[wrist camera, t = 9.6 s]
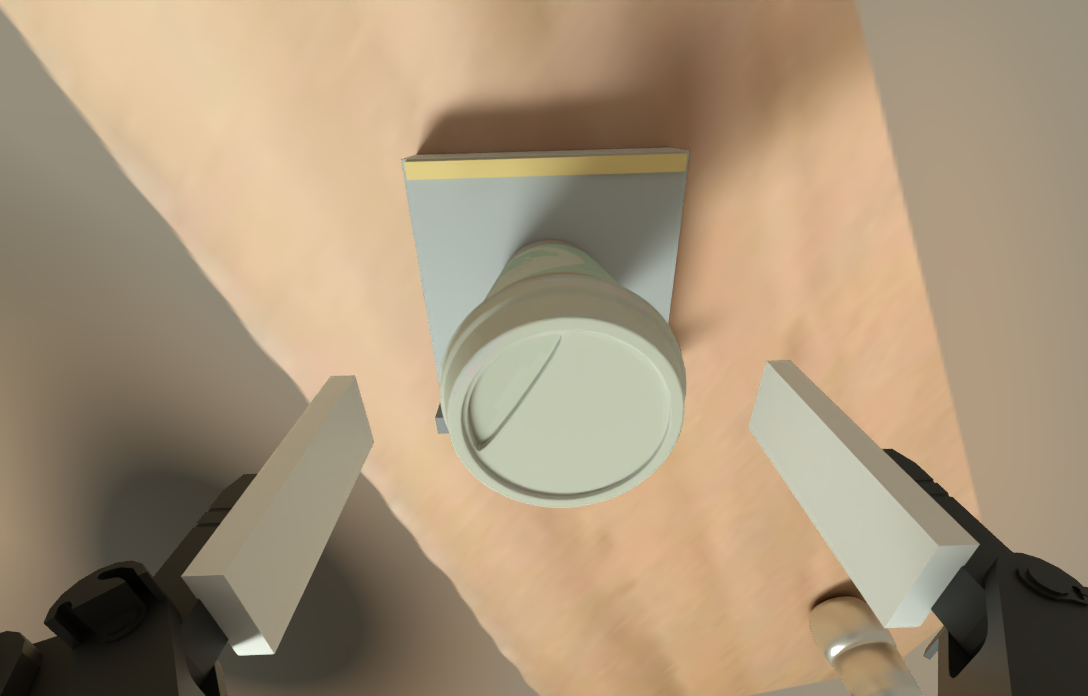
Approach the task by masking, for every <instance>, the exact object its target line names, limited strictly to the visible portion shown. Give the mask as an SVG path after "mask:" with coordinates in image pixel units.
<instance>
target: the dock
mask: <svg viewBox="0 0 1088 696" xmlns="http://www.w3.org/2000/svg"><path fill="white" fill-rule="evenodd" d="M689 154H690V151H688V150H683V149H678V148H673V147H661V148H627V149H593V150H560V151H526V152H492V153H459V154H425V155H413V156H410V157H407V158H404V159H401V163H402V169H403V174H404V180H405V186H406V192H407V198H408V204H409V210H410V216H411V222H412V228H413V234H414V239H415V245H416V251H417V257H418V263H419V269H420V275H421V281H422V287H423V293H424V299H425V304H426V310H427V316H428V322H429V328H430V334H431V340H432V346H433V352H434V358H435V364H436V369H437V375H438V381H439V387H440V371H441V365H442V360H443V356H444V353H445V350H446V348H447V345H448V343H449V341H450V339H451V337H452V335H453V334H454V332H455V331H456V329H457V328H458V326H459V325H460V324H461V322H462V321H463V320H464V319H465V318H466V316H467V315H468V314H469V313H470V312H471V311H472V310H473V309H475V308H476V307H477V306H478V305H479V304H481V303H482V302H483V301H484V299H485V298H486V296H487V294H488V293H489V291H490V289H491V288H492V286H493V284H494V283H495V281H496V280H497V278H498V276H499V275H500V273H501V271H502V270H503V268H504V267H505V265H506V264H507V262H508V261H509V259H510V258H511V257H512V256H513V255H514V254H515V253H516V252H517V251H519V250H520V249H521V248H523V247H525V246H527V245H529V244H531V243H534V242H537V241H541V240H562V241H566V242H569V243H572V244H574V245H576V246H578V247H580V248H581V249H583V250H584V251H585V252H586V253H587V254H588V255H589V256H591V257H592V258H593V259H594V260H595V261H596V262H597V263H598V264H599V265H600V266H601V267H602V268H603V269H604V270H605V271H606V272H607V273H608V274H609V275H610V276H611V277H612V278H613V279H614V280H615V281H616V282H617V283H618V284H619V285H620V286H623V287H625V288H627V289H629V290H631V291H633V292H634V293H636V294H637V295H639V296H641V297H642V298H643V299H645V300H646V301H647V302H649V303H650V304H651V305H652V306H653V307H654V308H655V309H656V310H657V311H658V312H659V313H660V314H661V315H662V316H663V318H664V319H665V320H666V322H667V323H668V322H669V314H670V306H671V298H672V290H673V282H674V274H675V266H676V258H677V250H678V242H679V234H680V226H681V218H682V210H683V202H684V194H685V186H686V178H687V170H688V162H689ZM435 419H436V425H437V430H438V434H443V433H449V430H448V428H447V426H446V423H445V420H444V417H443V414H442V409H441V403H440V405H439V408H438V411H437V414H436V417H435Z"/></svg>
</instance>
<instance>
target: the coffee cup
mask: <svg viewBox="0 0 1088 696" xmlns="http://www.w3.org/2000/svg"><path fill="white" fill-rule="evenodd" d="M685 396H686V372H685V367H684V362H683V359H682V354H681V350H680V347H679V344H678V342H677V339H676V337H675V335H674V333H673V331H672V329H671V328H670V326H669V324H668V323H667V322H666V320H665V319H664V318H663V316H662V315H661V314H660V313H659V312H658V311H657V310H656V309H655V308H654V307H653V306H652V305H651V304H650V303H649V302H647V301H646V300H645V299H643V298H642V297H641V296H639V295H637V294H636V293H634V292H633V291H631V290H629V289H627V288H625V287H623V286H620V285H619V284H618V283H617V282H616V281H615V280H614V279H613V278H612V277H611V276H610V275H609V274H608V273H607V272H606V271H605V270H604V269H603V268H602V267H601V266H600V265H599V264H598V263H597V262H596V261H595V260H594V259H593V258H592V257H591V256H589V255H588V254H587V253H586V252H585V251H584V250H583V249H581V248H580V247H578V246H576V245H574V244H572V243H569V242H566V241H562V240H541V241H537V242H534V243H531V244H529V245H527V246H525V247H523V248H521V249H520V250H519V251H517V252H516V253H515V254H514V255H513V256H512V257H511V258H510V259H509V261H508V262H507V264H506V265H505V267H504V268H503V270H502V271H501V273H500V275H499V276H498V278H497V280H496V281H495V283H494V284H493V286H492V288H491V289H490V291H489V293H488V294H487V296H486V298H485V299H484V301H483V302H482V303H481V304H479V305H478V306H477V307H476V308H475V309H473V310H472V311H471V312H470V313H469V314H468V315H467V316H466V318H465V319H464V320H463V321H462V322H461V324H460V325H459V326H458V328H457V329H456V331H455V332H454V334H453V335H452V337H451V339H450V341H449V343H448V345H447V348H446V350H445V353H444V356H443V360H442V365H441V371H440V403H441V409H442V414H443V417H444V420H445V423H446V426H447V428H448V430H449V434H450V438H451V442H452V444H453V446H454V449H455V451H456V453H457V455H458V456H459V458H460V460H461V461H462V463H463V464H464V465H465V467H466V468H467V469H468V470H469V471H470V472H471V473H472V474H473V475H474V476H475V477H476V478H477V479H478V480H479V481H481V482H482V483H483V484H484V485H486V486H487V487H489V488H491V489H492V490H494V491H496V492H497V493H499V494H501V495H503V496H506V497H508V498H511V499H513V500H516V501H519V502H523V503H526V504H531V505H536V506H543V507H556V508H567V507H578V506H585V505H590V504H595V503H599V502H602V501H605V500H608V499H611V498H614V497H616V496H618V495H621V494H623V493H625V492H627V491H629V490H631V489H632V488H634V487H636V486H637V485H639V484H640V483H642V482H643V481H644V480H646V479H647V478H648V477H649V476H651V475H652V474H653V473H654V472H655V471H656V470H657V469H658V468H659V467H660V466H661V465H662V463H663V462H664V461H665V460H666V458H667V457H668V456H669V454H670V453H671V451H672V450H673V448H674V446H675V444H676V442H677V440H678V437H679V434H680V432H681V428H682V424H683V419H684V401H685Z"/></svg>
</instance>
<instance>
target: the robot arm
mask: <svg viewBox="0 0 1088 696" xmlns="http://www.w3.org/2000/svg"><path fill="white" fill-rule="evenodd" d="M749 430H750V431H751V433H752V434H753V436H754V437H755V439H756V440H757V441H758V443H759V444H760V446H761V447H762V449H763V450H764V452H765V453H766V455H767V456H768V458H769V459H770V461H771V462H772V464H773V465H774V466H775V468H776V469H777V471H778V472H779V474H780V475H781V477H782V478H783V480H784V481H785V483H786V484H787V486H788V487H789V489H790V490H791V491H792V493H793V494H794V496H795V497H796V499H797V500H798V502H799V503H800V505H801V506H802V508H803V509H804V511H805V512H806V514H807V515H808V516H809V518H810V519H811V521H812V522H813V524H814V525H815V527H816V528H817V530H818V531H819V533H820V534H821V536H822V537H823V539H824V540H825V541H826V543H827V544H828V546H829V547H830V549H831V550H832V552H833V553H834V555H835V556H836V558H837V559H838V561H839V562H840V564H841V565H842V566H843V568H844V569H845V571H846V572H847V574H848V575H849V577H850V578H851V580H852V581H853V583H854V584H855V586H856V587H857V589H858V590H859V591H860V593H861V594H862V596H863V597H864V599H865V600H866V602H867V603H868V605H869V606H870V608H871V609H872V611H873V612H874V614H875V615H876V616H877V618H878V619H879V621H880V622H881V624H882V625H883V627H884V628H899V627H920V625H921V624H922V622H923V621H924V620H925V618H926V617H927V616H928V614H929V613H930V612H931V610H932V611H933V612H934V613H935V615H936V616H937V617H938V618H939V620H940V621H941V622H942V624H943V625H944V626H943V628H942V629H941V630H940V631H939V633H938V634H937V635H936V637H935V638H934V639H933V640H932V642H931V643H930V644H929V645H928V647H927V648H926V650H925V653H924V657H926V658H928V659H931V658H932V657H933V655H934V654H935V653H936V652H937V651H938V696H1088V587H1083V586H1082V585H1081V584H1080V583H1079V582H1078V581H1077V580H1076V579H1074V578H1073V577H1071V576H1070V575H1069V574H1067V573H1065V572H1064V571H1063V570H1061V569H1060V568H1058V567H1056V566H1054V565H1052V564H1050V563H1048V562H1046V561H1044V560H1042V559H1040V558H1036V557H1033V556H1030V555H1027V554H1023V553H1013V552H1012V551H1010V550H1009V549H1008V548H1007V547H1006V546H1005V545H1004V544H1003V543H1002V542H1001V541H1000V540H999V539H997V538H996V537H995V536H994V535H993V534H992V533H991V532H990V531H989V530H988V529H987V528H985V527H984V526H983V525H982V524H981V523H980V522H979V521H978V520H977V519H976V518H975V517H974V516H972V515H971V514H970V513H969V512H968V511H967V510H966V509H965V508H964V507H963V506H962V505H961V504H959V503H958V502H957V501H956V500H955V499H954V498H953V497H949V495H948V492H946V491H945V490H944V489H943V488H942V487H941V486H940V485H939V484H938V483H934V481H933V479H932V478H931V477H930V476H929V475H928V474H927V473H926V472H925V471H924V470H923V469H922V468H920V467H919V466H918V465H917V464H916V463H915V462H913V461H911V460H910V459H908V458H906V457H905V456H903V455H901V454H900V453H898V452H896V451H895V450H893V449H881V448H880V447H879V446H878V445H877V444H876V443H875V442H874V441H873V440H872V439H871V438H870V437H869V436H868V435H867V434H866V433H865V432H864V431H863V430H862V429H861V428H860V427H859V426H857V425H856V424H855V423H854V422H853V421H852V420H851V419H850V418H849V417H848V416H847V415H846V414H845V413H844V412H843V411H842V410H841V409H840V408H839V407H838V406H837V405H836V404H835V403H834V402H833V401H832V400H831V399H830V398H829V397H828V396H827V395H826V394H825V393H824V392H822V391H821V390H820V389H819V388H818V387H817V386H816V385H815V384H814V383H813V382H812V381H811V380H810V379H809V378H808V377H807V376H806V375H805V374H804V373H803V372H802V371H801V370H800V369H799V368H798V367H797V366H796V365H795V364H794V363H793V362H792V361H791V360H779V361H766V364H765V368H764V372H763V376H762V379H761V383H760V387H759V390H758V394H757V398H756V402H755V405H754V409H753V413H752V416H751V420H750V424H749ZM373 443H374V440H373V436H372V433H371V429H370V426H369V422H368V419H367V415H366V412H365V409H364V405H363V402H362V398H361V395H360V391H359V388H358V384H357V381H356V377H355V375H352V376H331V377H330V378H329V379H328V381H327V382H326V383H325V385H324V386H323V387H322V389H321V390H320V391H319V393H318V394H317V395H316V397H315V398H314V399H313V401H312V402H311V403H310V405H309V406H308V408H307V409H306V410H305V412H304V413H303V414H302V415H301V417H300V418H299V419H298V421H297V422H296V423H295V425H294V426H293V428H292V429H291V430H290V431H289V433H288V434H287V435H286V437H285V438H284V439H283V441H282V442H281V443H280V445H279V446H278V448H277V449H276V450H275V451H274V453H273V454H272V456H271V457H270V458H269V460H268V461H267V462H266V463H265V465H264V466H263V468H262V469H261V470H260V472H259V473H258V474H244V475H242V476H241V477H240V478H239V479H237V480H236V481H235V482H233V483H232V484H231V485H230V486H228V487H227V488H226V489H224V490H223V491H222V492H221V494H220V495H219V496H218V497H217V499H216V500H215V501H214V502H213V504H212V505H211V506H210V508H209V511H208V512H205V514H204V515H203V516H202V517H201V519H200V520H199V521H198V522H197V524H196V527H195V528H192V530H191V531H190V532H189V533H188V535H187V536H186V537H185V538H184V540H183V541H182V542H181V543H180V545H179V546H178V547H177V548H176V550H175V551H174V552H173V553H172V554H171V556H170V557H169V558H168V559H167V561H166V562H165V563H164V564H163V566H162V567H161V568H160V569H159V571H158V572H157V573H156V574H155V576H154V577H152V575H151V574H150V573H149V571H148V570H147V569H146V568H145V566H144V565H143V564H142V563H138V562H135V561H125V562H118V563H114V564H112V565H109V566H106V567H104V568H101V569H98V570H97V571H95V572H93V573H92V574H90V575H88V576H86V577H85V578H83V579H81V580H79V581H78V582H77V583H76V584H74V585H73V586H72V587H71V588H70V589H68V590H67V591H66V592H64V593H63V594H62V595H61V596H60V598H59V599H58V600H57V601H56V602H55V603H54V605H53V606H52V607H51V608H50V609H49V612H48V614H47V616H46V619H45V621H44V624H45V625H46V626H48V628H49V629H50V630H52V631H53V632H54V633H55V634H56V635H57V636H56V637H53V638H50V639H47V640H44V641H41V642H38V643H34V644H32V643H31V642H30V641H29V640H28V639H26V638H25V637H24V636H23V635H22V634H21V633H19V632H11V631H5V632H2V633H0V696H228V695H227V690H226V686H225V681H224V675H223V671H222V667H221V665H220V664H219V662H218V660H217V658H218V657H219V655H220V653H221V651H222V650H223V648H224V646H225V644H226V643H227V641H228V642H229V643H230V645H231V646H232V648H233V649H234V650H235V652H236V653H237V654H238V655H258V654H259V655H261V654H275V651H276V649H277V647H278V645H279V643H280V641H281V639H282V636H283V634H284V632H285V630H286V628H287V626H288V624H289V622H290V620H291V617H292V615H293V613H294V611H295V609H296V607H297V605H298V603H299V600H300V598H301V596H302V594H303V592H304V590H305V588H306V586H307V583H308V581H309V579H310V577H311V575H312V573H313V571H314V569H315V566H316V564H317V562H318V560H319V558H320V556H321V553H322V551H323V549H324V547H325V545H326V543H327V541H328V539H329V537H330V534H331V532H332V530H333V528H334V526H335V524H336V522H337V519H338V517H339V515H340V513H341V511H342V509H343V507H344V505H345V502H346V500H347V498H348V496H349V494H350V492H351V490H352V488H353V486H354V483H355V481H356V479H357V477H358V475H359V473H360V471H361V469H362V466H363V464H364V462H365V460H366V458H367V456H368V454H369V452H370V449H371V447H372V445H373Z"/></svg>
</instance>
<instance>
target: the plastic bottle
mask: <svg viewBox="0 0 1088 696" xmlns="http://www.w3.org/2000/svg"><path fill="white" fill-rule="evenodd" d="M809 627H810V630H811V632H812V635H813V638H814V641H815V643H816V645H817V646H818V648H819V649H820V651H821V652H822V653H823V655H824V656H825V658H826V659H827V660H828V662H829V663H830V664H831V665H832V666H833V667H834V669H835V671H836V672H837V674H838V675H839V677H840V679H841V680H842V682H843V683H844V685H845V687H846V688H847V690H848V691H849V693H850V695H851V696H925V694H924V693H923V691H922V690H921V688H920V687H919V685H918V684H917V682H916V680H915V678H914V676H913V675H912V673H911V671H910V670H909V668H908V666H907V665H906V663H905V661H904V660H903V658H902V656H901V654H900V653H899V651H898V650H897V647H896V644H895V642H894V640H893V637H892V635H891V633H890V632H889V630H888V628H884V627H883V625H882V624H881V622H880V621H879V619H878V618H877V616H876V615H875V614H874V612H873V611H872V609H871V608H870V606H869V605H868V604H867V603H865V602H863V601H862V600H860V599H858V598H855V597H849V596H844V597H836V598H832V599H829V600H826V601H824V602H822V603H820V604H819V605H817V606H816V607H815V608H814V609H813V610H812V611H811V613H810V618H809Z"/></svg>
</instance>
